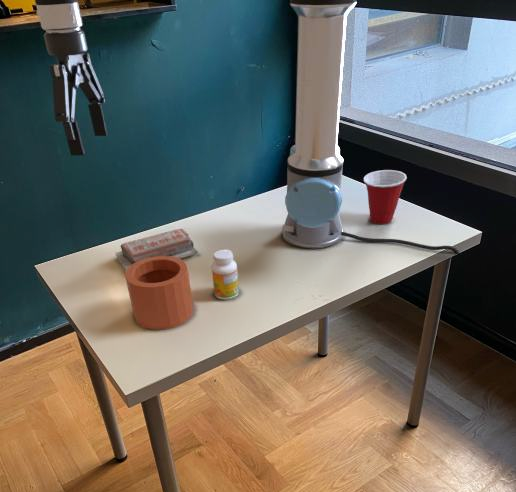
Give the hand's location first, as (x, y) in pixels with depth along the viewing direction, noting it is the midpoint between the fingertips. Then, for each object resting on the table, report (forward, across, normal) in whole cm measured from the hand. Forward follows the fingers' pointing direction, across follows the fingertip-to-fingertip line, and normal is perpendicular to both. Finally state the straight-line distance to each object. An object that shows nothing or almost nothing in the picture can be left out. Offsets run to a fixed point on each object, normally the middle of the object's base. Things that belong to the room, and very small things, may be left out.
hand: (90, 144), depth 111 cm
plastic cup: (+28, -24, +66) cm, 75 cm away
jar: (+27, +23, +18) cm, 40 cm away
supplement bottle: (+28, +15, +30) cm, 44 cm away
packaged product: (+28, -1, +10) cm, 29 cm away
